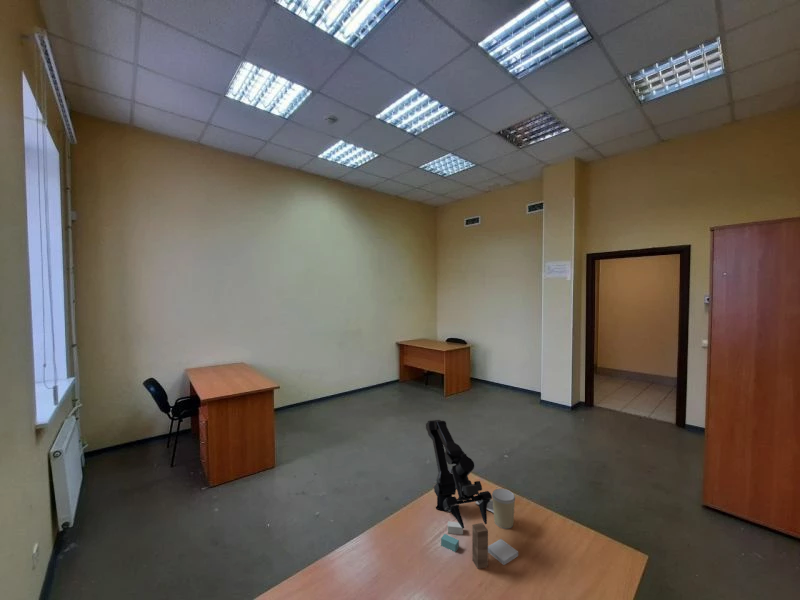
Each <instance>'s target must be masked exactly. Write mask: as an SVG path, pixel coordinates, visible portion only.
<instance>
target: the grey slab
mask: <svg viewBox="0 0 800 600" xmlns="http://www.w3.org/2000/svg"><path fill="white" fill-rule="evenodd" d="M488 554H490V555H491V556H492V557H493V558H494V559H495V560H497V561H498V562H499V563H500V564H502V565H503V566H505V565H507V564H508V563H510V562H511V561H513V560H514V559H516V558H517V557H519V551H518V550H517V549H516V548H514V547H512V545H510V544H509V543H507V542H506V541H504V540H503V539H502V538H500V539H498V540H496V541H495V542H493V543H491V544H489V545H488Z"/></svg>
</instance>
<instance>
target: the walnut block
mask: <svg viewBox="0 0 800 600" xmlns="http://www.w3.org/2000/svg"><path fill="white" fill-rule="evenodd" d="M471 529H472V530H471V531H472V532H471V533H472V534H471V535H472V538H471V539H472V540H471V542H472V545H471V547H472V549H471V550H472V551H471V553H472V554H471V555H472V556H471V557H472V558H471V559H472V560H471V561H472V562H473V564H474V565H475V567H476V569H478V570H480V569H485V568H488V567H489V556H488V555H489V553H488V546H489V530H488V528H487V527H486V526H485V523H484V522H479V523H474V524H472V528H471Z"/></svg>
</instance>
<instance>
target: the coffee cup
mask: <svg viewBox="0 0 800 600" xmlns="http://www.w3.org/2000/svg"><path fill="white" fill-rule="evenodd" d="M491 496H492V500H493V511H494V513H493V520H494V524H495V525H496V526H497V527H499V528H501V529H504V530H505V529H506V530H507V529H511V528H513V527H514V519H515V516H514V515H515V503H516V502H515V501H516V497H515V494H514V493H513V492H512V491H510V490H509V489H506V488H496V489H494V490H493V491H492V493H491Z"/></svg>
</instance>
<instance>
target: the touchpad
mask: <svg viewBox="0 0 800 600" xmlns="http://www.w3.org/2000/svg"><path fill="white" fill-rule="evenodd" d="M474 504H476V505H479V504H480V503H479V502H478V501H476V502H474ZM487 511H490V512H491V513H493V514H494V511H493V499H491V500H490V502H489V503H488V504H487Z"/></svg>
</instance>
